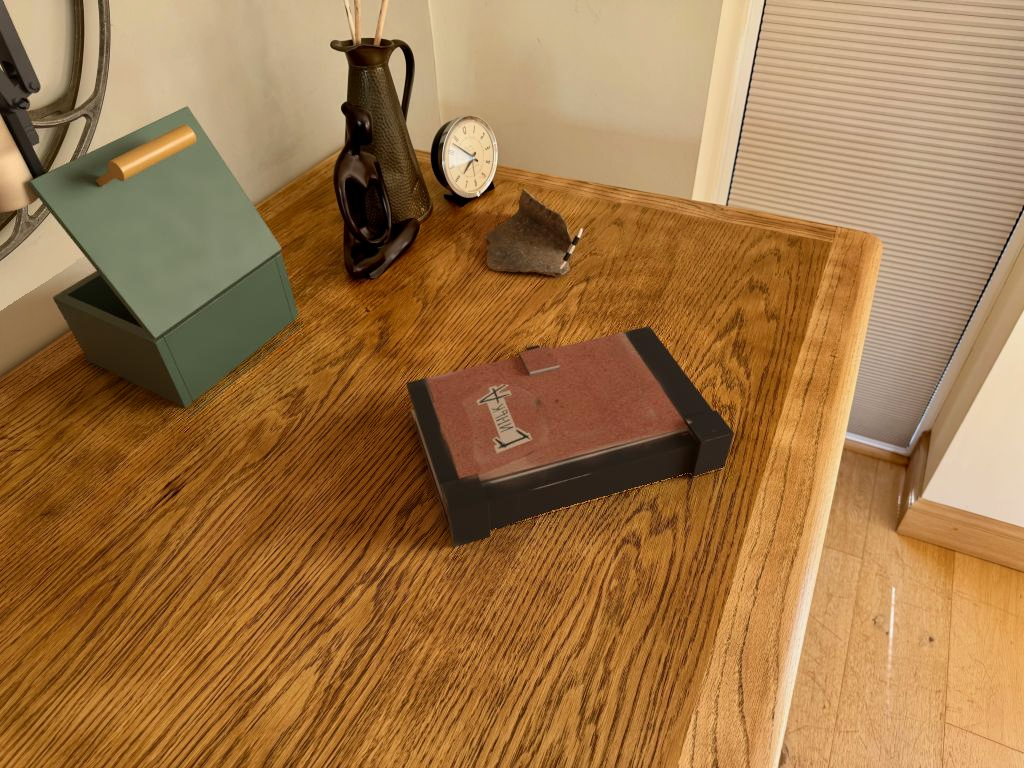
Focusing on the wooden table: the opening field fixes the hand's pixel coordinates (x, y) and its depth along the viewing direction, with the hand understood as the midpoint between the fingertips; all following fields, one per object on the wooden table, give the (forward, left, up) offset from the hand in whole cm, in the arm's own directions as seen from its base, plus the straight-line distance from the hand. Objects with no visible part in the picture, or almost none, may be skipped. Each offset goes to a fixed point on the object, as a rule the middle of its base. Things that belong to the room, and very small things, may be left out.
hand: (11, 196), depth 62 cm
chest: (+3, +9, -23) cm, 25 cm away
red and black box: (+45, +16, -23) cm, 53 cm away
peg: (0, 0, 0) cm, 0 cm away
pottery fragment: (+26, +43, -23) cm, 55 cm away
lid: (+6, +9, -6) cm, 12 cm away
